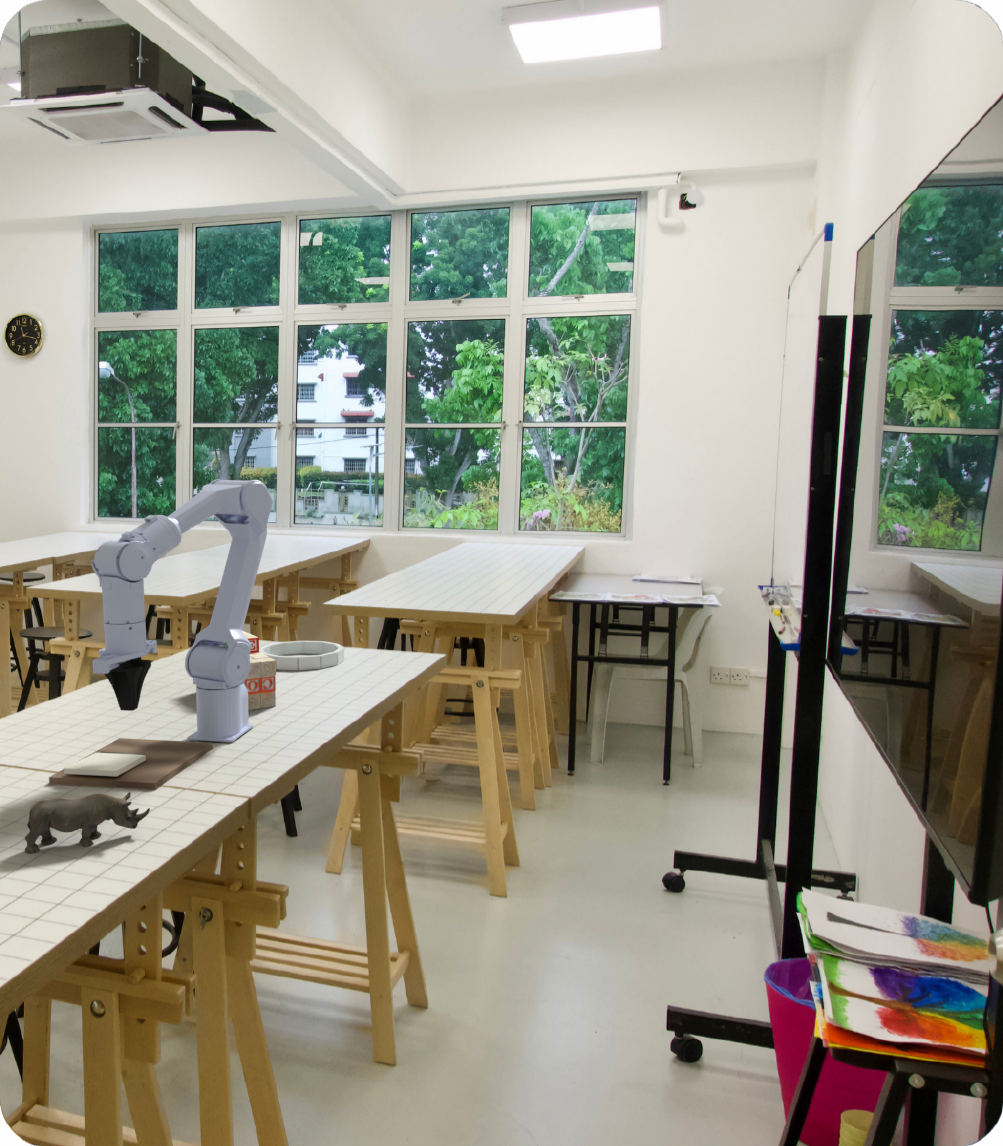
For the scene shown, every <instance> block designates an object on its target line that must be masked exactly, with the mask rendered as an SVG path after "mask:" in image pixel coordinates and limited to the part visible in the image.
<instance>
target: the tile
mask: <svg viewBox="0 0 1003 1146" xmlns="http://www.w3.org/2000/svg"><path fill="white" fill-rule="evenodd" d="M93 753H94V752H93ZM91 754H92V753H91ZM89 755H90V754H89ZM87 756H88V755H87ZM87 756H85V757H86V758H85V757H83V758H84V759H83V758H81V759H82V760H81V759H80V761H79V760H78V762H77V761H76V762H74V763H72V764H70V765H68V766H66V767H64V768H63V769H64V774H79V775H98V776H119V775H120V774H122V773H124V772H126V771H127V770H129V769H131V768H133V767H135V766H136V765H138V764H140V763H142V762H144V761H145V760H146V755H134V754H114V753H94V754H92V755H90V756H88V757H87Z"/></svg>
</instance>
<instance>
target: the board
mask: <svg viewBox="0 0 1003 1146" xmlns="http://www.w3.org/2000/svg"><path fill="white" fill-rule="evenodd" d="M213 744H214V742H210V741H189V740H187V741H186V740H184V741H183V740H165V739H163V740H162V739H160V740H159V739H146V738H145V739H144V738H141V739H140V738H122V737H121V738H117V739H115V740H113V741H112V742H110V743H108V744H107V745H105V746H103V747H101V748H100V749H98V750H95V751H94V752H92V753H90V754H89V755H87V756H84V757H83V758H81V759H80V760H82V759H84V758H86V757H88V756H90V755H92V754H94V753H114V754H134V755H146V760H145V761H144V762H142V763H140V764H138V765H136V766H135V767H133V768H131V769H129V770H127V771H126V772H124V773H122V774H120V775H119V776H98V775H79V774H64V768H63V769H62V770H60V771H58V772H56V773H54V774H52V775H50V776H49V777H48V784H49V785H62V786H64V785H65V786H78V787H79V786H80V787H81V786H82V787H99V788H116V789H117V788H119V789H134V790H135V789H136V790H137V789H138V790H153V791H155V790H158V788H160V787H161V786H163V785H164V784H165V783H167V782H169V781H170V780H171V779H173V777H175V776H177V775H178V774H179V773H181V772H182V771H183V770H185V769H187V768H188V767H189V766H191V765H192V764H193V763H195V762H196V761H198V760H199V759H200V758H202V757H204V756H205V755H206V754H207V753H209V752H210V751H212V750H213V749H214V748H213V747H214V745H213ZM80 760H78V761H80ZM78 761H76V762H78Z"/></svg>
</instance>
